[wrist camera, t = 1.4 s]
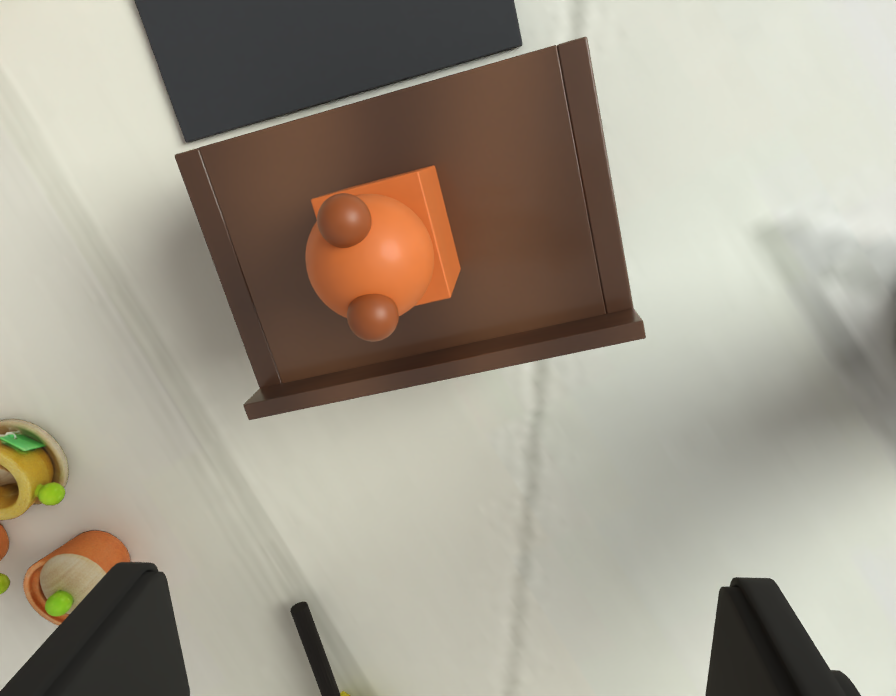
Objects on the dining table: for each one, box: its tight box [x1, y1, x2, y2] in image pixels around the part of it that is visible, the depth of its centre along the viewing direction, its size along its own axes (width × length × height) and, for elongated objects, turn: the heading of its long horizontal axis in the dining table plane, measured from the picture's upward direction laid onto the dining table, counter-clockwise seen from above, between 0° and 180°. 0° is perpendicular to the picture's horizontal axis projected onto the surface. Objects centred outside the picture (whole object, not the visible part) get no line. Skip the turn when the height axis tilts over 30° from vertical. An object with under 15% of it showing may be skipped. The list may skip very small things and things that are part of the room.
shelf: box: [175, 37, 646, 420], centre depth 31 cm, size 18×12×12 cm, turn 104°
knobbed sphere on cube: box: [305, 165, 461, 342], centre depth 23 cm, size 4×5×10 cm
